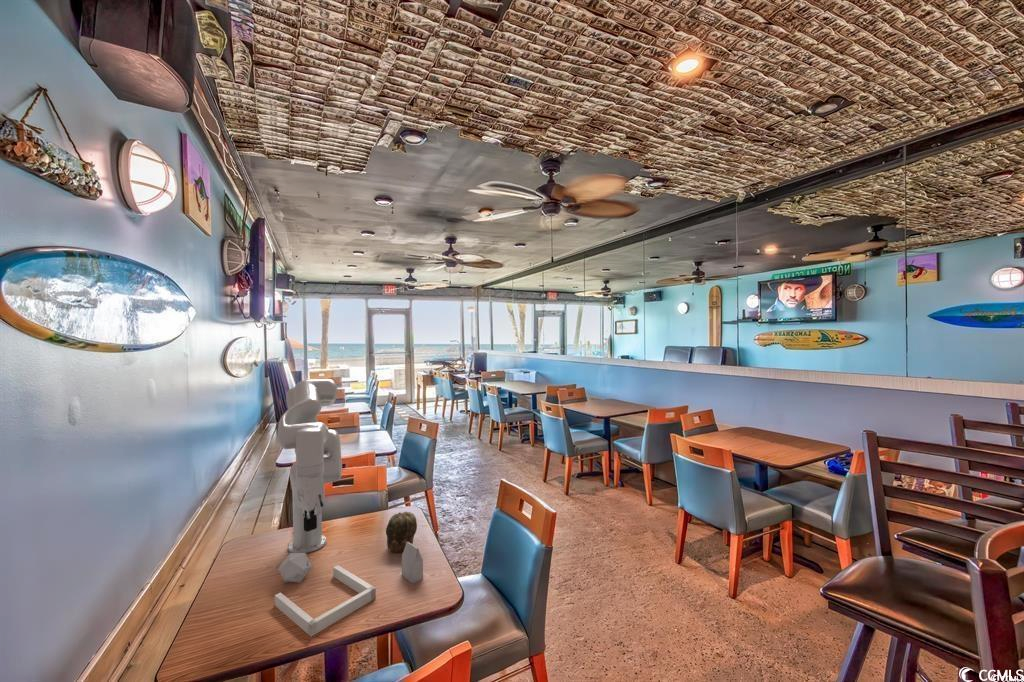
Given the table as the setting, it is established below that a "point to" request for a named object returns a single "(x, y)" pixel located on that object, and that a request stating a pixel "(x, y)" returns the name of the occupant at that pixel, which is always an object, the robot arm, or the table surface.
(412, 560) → the grey faceted angular block
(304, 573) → the die
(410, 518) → the shell
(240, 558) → the table surface
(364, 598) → the bay
